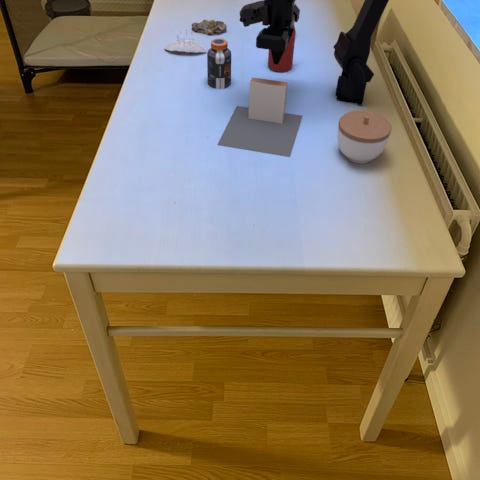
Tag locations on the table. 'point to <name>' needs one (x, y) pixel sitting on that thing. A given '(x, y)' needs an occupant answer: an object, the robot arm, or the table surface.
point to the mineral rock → (209, 27)
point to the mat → (260, 133)
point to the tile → (267, 100)
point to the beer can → (284, 56)
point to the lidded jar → (363, 135)
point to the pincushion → (186, 46)
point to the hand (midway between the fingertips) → (276, 63)
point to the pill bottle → (219, 64)
